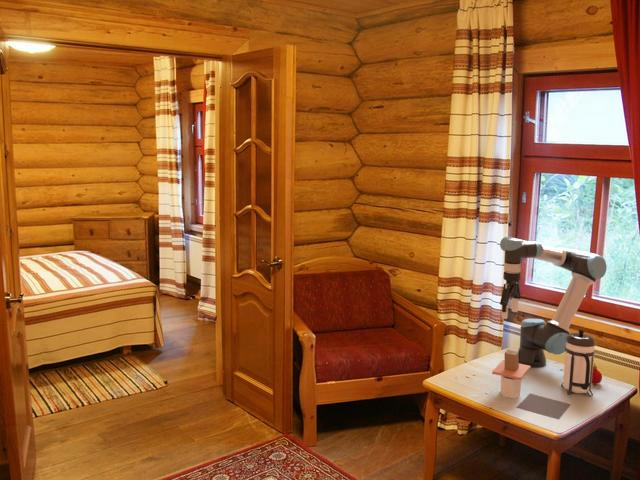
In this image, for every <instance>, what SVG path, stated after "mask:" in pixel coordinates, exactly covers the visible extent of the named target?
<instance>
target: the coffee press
mask: <svg viewBox="0 0 640 480" xmlns="http://www.w3.org/2000/svg"><path fill="white" fill-rule="evenodd" d="M565 340H566V346H565V352H564V354H565V355H564V366H563V367H564V368H563V379H562V380H563V382H562V383H561V384H560V387H561V388H565V389H566V390H567V393H566V394H567V395H569V396H571V395H572V394H573V393H577V394H587V396H588V397H593V396H594V393H593V391H592V385H593V384H592V373H593V366H594V358H595V354H596V353H595V352H596V350H595V348H596V347H595V346H596V345H597V342H596V339H595V338H594V337H593V336H592V335H590V334H588V333H585V331H584V329H579V330H578V332H572V333H571V332H570V334H569V335H568V336H567V337H566V339H565Z"/></svg>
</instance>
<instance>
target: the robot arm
mask: <svg viewBox="0 0 640 480" xmlns="http://www.w3.org/2000/svg"><path fill="white" fill-rule="evenodd" d="M499 247H500V250H502V251H503V252H504V258H503V259H504V261H503V262H504V263H503V278H502V279H503V280H505V281H506V283H503V289H502V293H501V298H500V301H499V302H500V303H499V305H501V316H500V317H501V319H504V320H507V319H508V315H509V301H510V297H511V295H512V298H511V312H514V313H518V312H519V300H520V299H521V297H522V296H521V290H520V280H521V271H522V269H521V268H522V259H535V260H539V261H544V262H547V263H551V264H553V265H554V267H555V266H556V267H559V268H563V269H565V270H567V271H569V272H571V274H570V275H571V276H572V278H571V280H570V283H569V284H568V287H567V288H566V290H565V293H564V295H563V296H562V299H561V301H560V302H559V305H557V306H558V307H557V308H556V311H555V313H554V314H553V317H552V319H551V320H548V321H546V320H544V319H542V318H525V319H523V320H522V321H521V324H520V331H519V332H520V334H519V335H520V336H519V347H518V350H517V352H519V364H524V365H529V366H531V368H541V367H545V366H546V365H547V358H546V354H545V351H546V352H547V353H549V354H553V355H561V354H565V352H566V351H565V346H566V340H565V339H566V337H567V336H568V335H569V334H571V331H570V326H571V324H572V322H573V319H574V318H575V315H576V314H577V312H578V310H579V308H580V305H581V304H582V301H583V300H584V297H585V295H586V294H587V291H588V290H589V288H590V286H591V285H593V284H595V283H596V281H597V280H600V279H602V278H603V277H604V276H605V275H606V272H607V263H606V262H607V261H606V260H605V258H604V257H603V256H602V255H599V254H597V253H594V252H593V253H592V252H588V251H583V250H581V249H580V250H579V249H571V248H570V249H569V248H563V247H556V248H555V247H551V246H547V245H544V244H542V243H541V242H540V241H535V240H533V241H529V240H524V239H520V238H516V237H513V236H504V237H503V238H502V239H501V240H500V243H499Z"/></svg>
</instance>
